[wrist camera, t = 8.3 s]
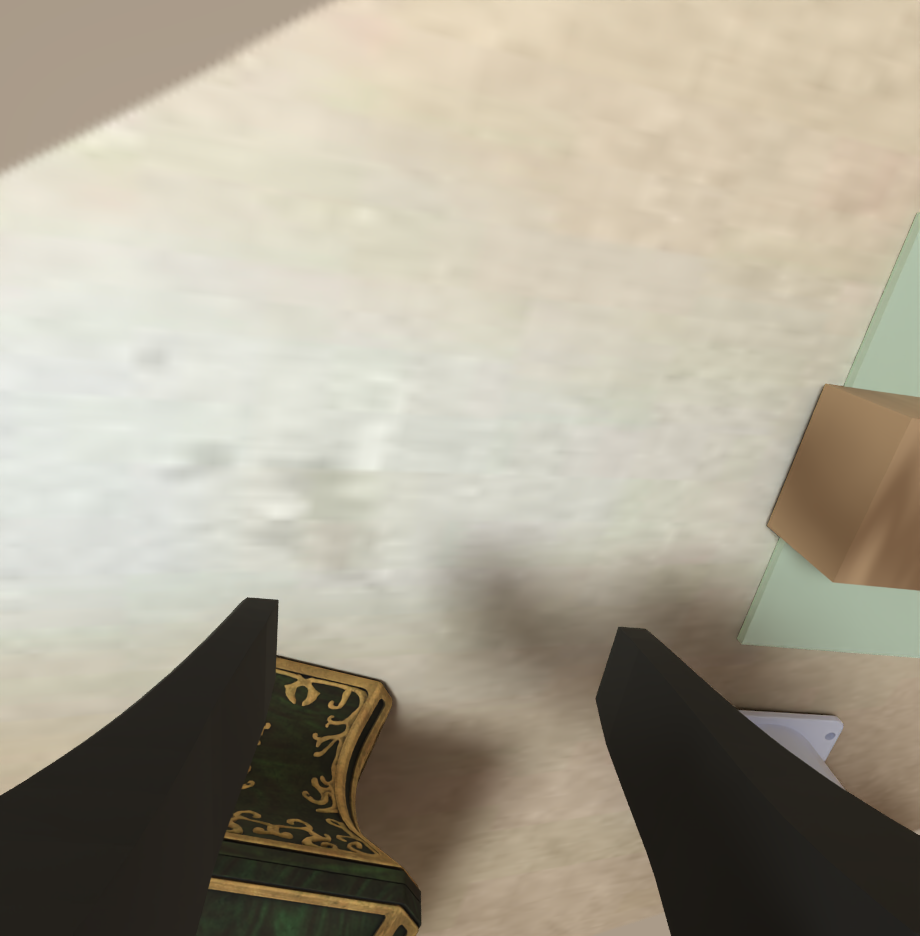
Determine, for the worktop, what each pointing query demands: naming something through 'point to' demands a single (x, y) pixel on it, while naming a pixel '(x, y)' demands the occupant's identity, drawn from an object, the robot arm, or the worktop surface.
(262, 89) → the worktop surface
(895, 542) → the tan rectangular block
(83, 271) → the worktop surface
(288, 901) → the decorative box
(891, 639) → the green pad
